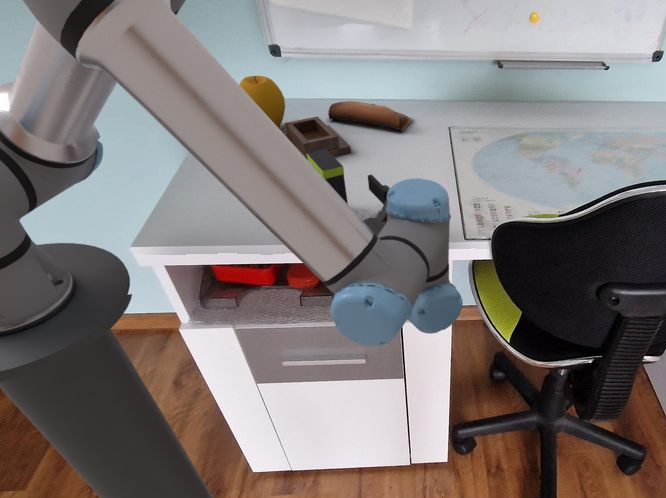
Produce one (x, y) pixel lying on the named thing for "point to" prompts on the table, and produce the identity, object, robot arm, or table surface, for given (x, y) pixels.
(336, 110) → the sunglasses case
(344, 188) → the back pad
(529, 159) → the table surface
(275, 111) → the apple
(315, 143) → the pad base
